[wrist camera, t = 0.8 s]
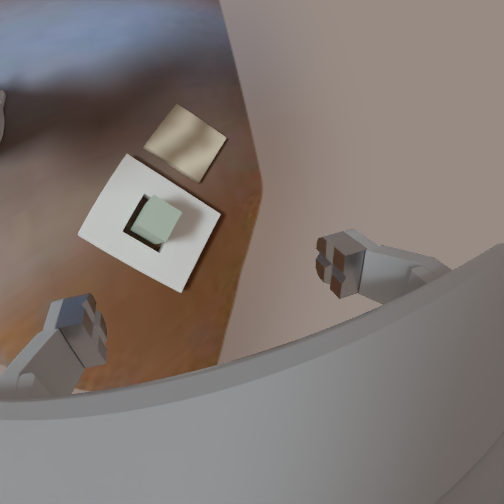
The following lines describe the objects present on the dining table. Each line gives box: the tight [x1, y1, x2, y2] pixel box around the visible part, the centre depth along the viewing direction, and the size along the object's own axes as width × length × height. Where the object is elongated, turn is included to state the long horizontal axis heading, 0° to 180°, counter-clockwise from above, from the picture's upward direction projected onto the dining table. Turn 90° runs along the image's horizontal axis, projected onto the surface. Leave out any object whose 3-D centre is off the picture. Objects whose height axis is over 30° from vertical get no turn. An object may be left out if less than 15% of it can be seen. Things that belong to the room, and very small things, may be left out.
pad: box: [143, 104, 226, 183], centre depth 45 cm, size 11×10×1 cm
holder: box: [78, 154, 221, 293], centre depth 41 cm, size 18×14×2 cm
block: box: [130, 195, 182, 244], centre depth 39 cm, size 4×4×8 cm
